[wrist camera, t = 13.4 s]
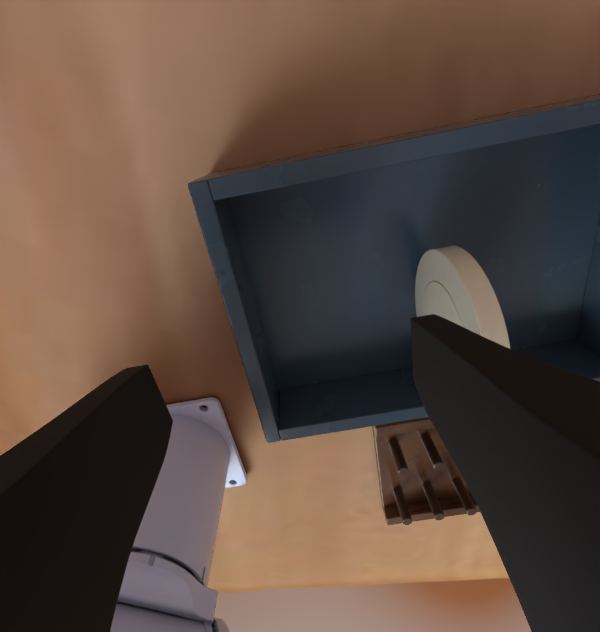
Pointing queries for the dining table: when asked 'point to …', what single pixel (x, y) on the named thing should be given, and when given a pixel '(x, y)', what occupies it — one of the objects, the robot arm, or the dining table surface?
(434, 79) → the dining table surface
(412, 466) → the plate rack
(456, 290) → the plate
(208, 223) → the dark blue tray
